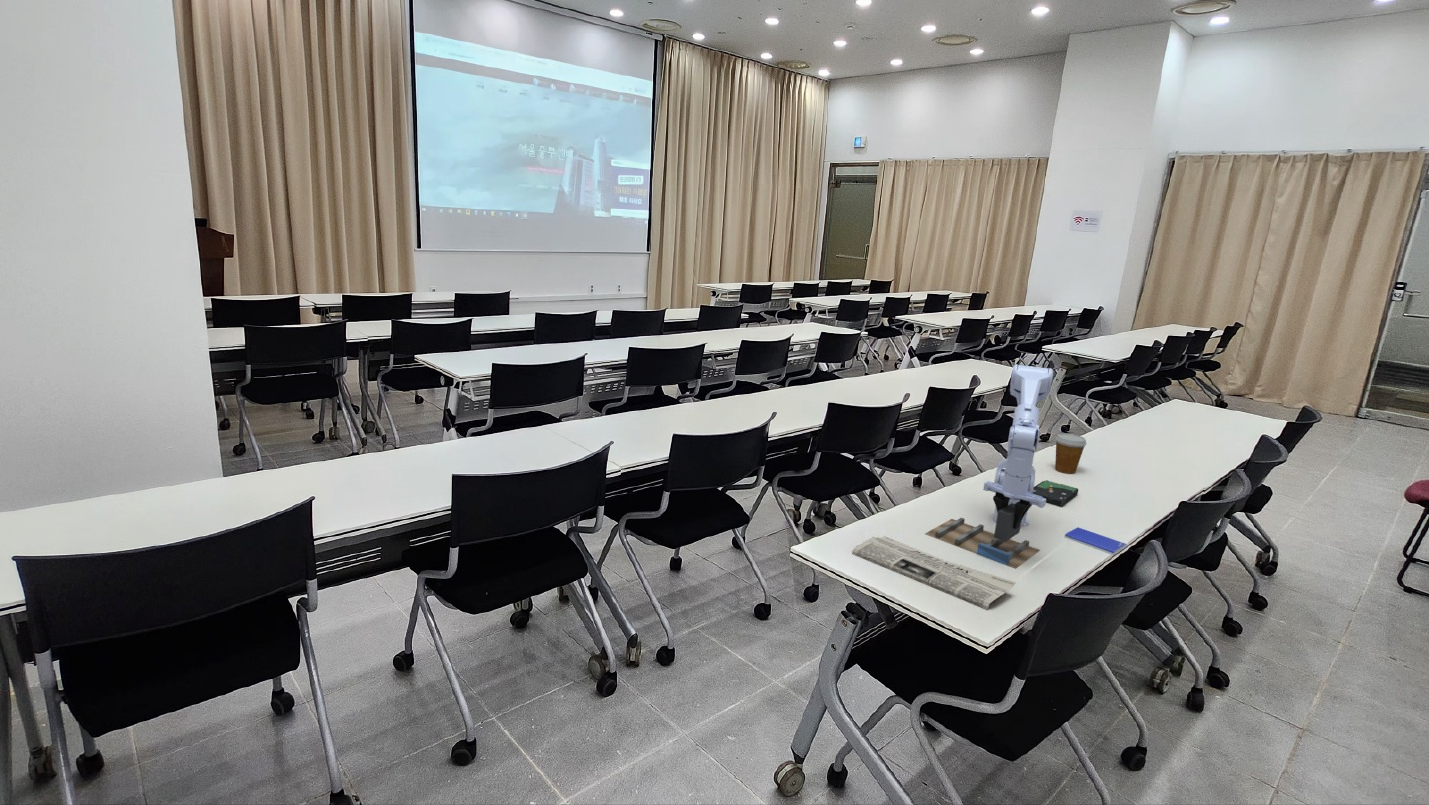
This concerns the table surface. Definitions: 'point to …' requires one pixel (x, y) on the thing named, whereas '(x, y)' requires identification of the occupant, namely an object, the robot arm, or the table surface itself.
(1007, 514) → the dark grey tall block
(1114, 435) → the table surface
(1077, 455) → the disposable coffee cup
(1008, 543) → the board
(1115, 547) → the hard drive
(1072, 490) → the disk drive
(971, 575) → the newspaper
